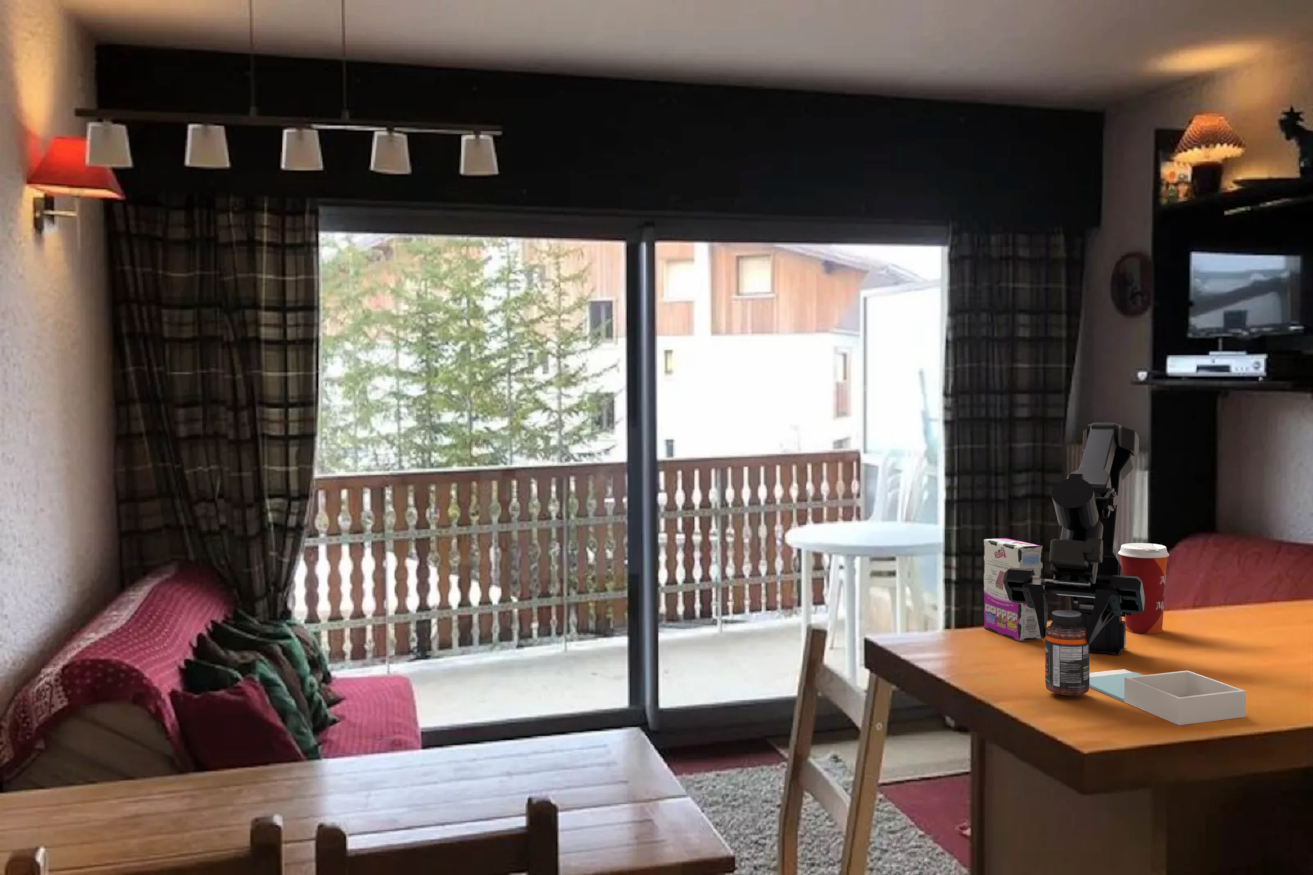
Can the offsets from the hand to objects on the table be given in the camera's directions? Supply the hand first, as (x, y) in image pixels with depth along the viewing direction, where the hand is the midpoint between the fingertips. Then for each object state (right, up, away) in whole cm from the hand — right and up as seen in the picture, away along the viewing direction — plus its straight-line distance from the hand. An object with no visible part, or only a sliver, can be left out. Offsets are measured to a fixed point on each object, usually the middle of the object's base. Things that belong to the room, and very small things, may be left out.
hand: (1065, 639), depth 153 cm
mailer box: (+12, -8, 0) cm, 15 cm away
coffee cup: (+28, -6, +39) cm, 48 cm away
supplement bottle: (+1, -8, +2) cm, 8 cm away
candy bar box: (+5, -6, +38) cm, 39 cm away
